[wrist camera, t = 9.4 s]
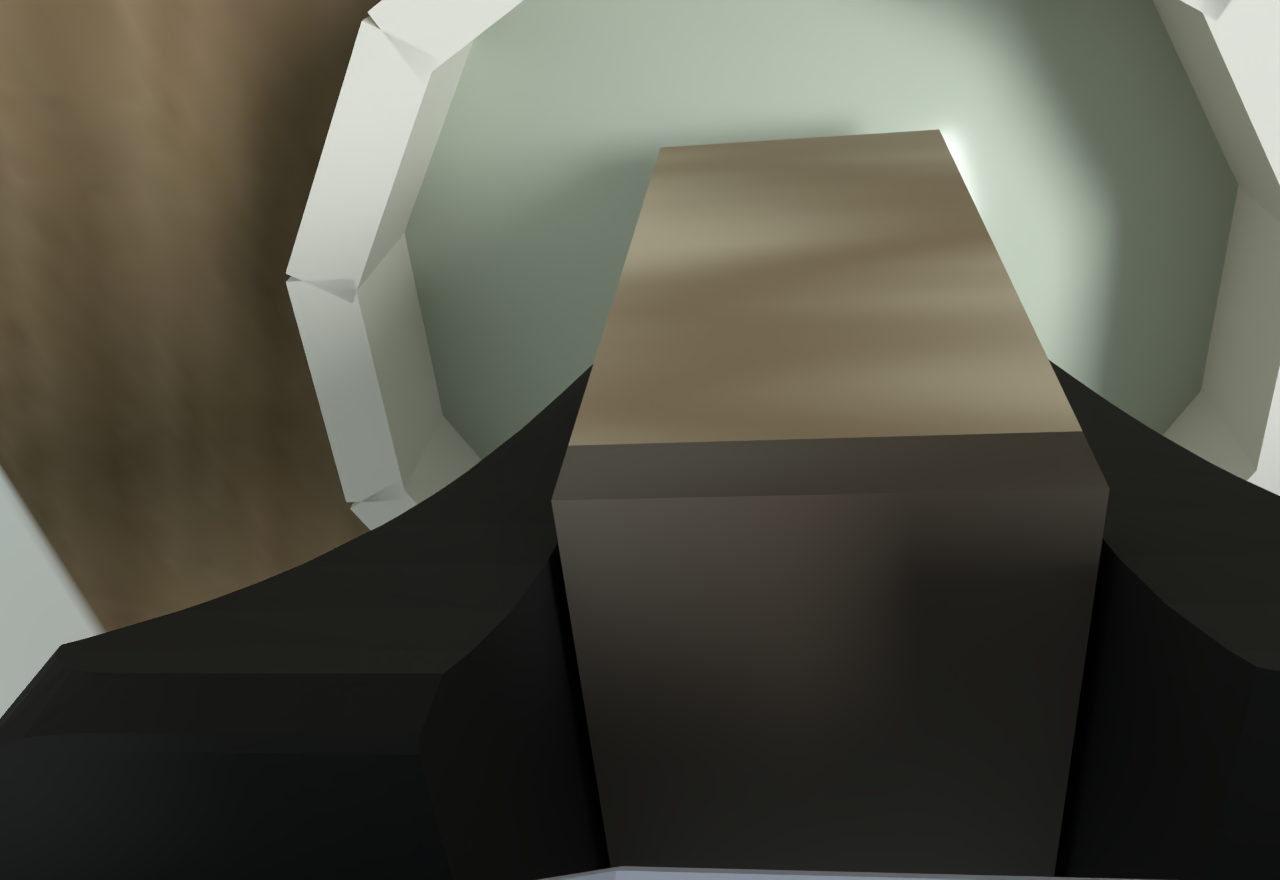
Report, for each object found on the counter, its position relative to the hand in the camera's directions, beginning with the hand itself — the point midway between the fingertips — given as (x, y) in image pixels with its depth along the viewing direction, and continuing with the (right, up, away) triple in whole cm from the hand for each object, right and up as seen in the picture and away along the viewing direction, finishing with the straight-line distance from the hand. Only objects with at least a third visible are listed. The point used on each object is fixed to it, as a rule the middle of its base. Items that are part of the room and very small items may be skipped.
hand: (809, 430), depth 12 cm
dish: (0, +2, +3) cm, 4 cm away
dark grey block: (0, +1, +2) cm, 2 cm away
